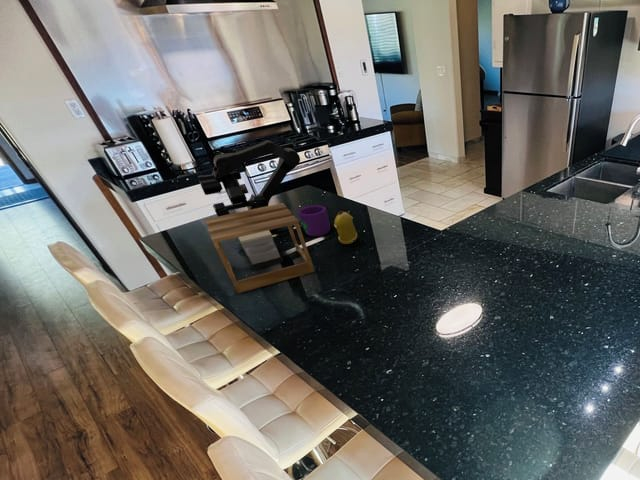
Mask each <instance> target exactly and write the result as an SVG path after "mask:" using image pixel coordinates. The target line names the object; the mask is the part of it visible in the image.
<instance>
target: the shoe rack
mask: <svg viewBox="0 0 640 480" xmlns="http://www.w3.org/2000/svg"><path fill="white" fill-rule="evenodd" d="M204 222H205V224H206V226H207V230H208V233H209V236H210V239H211V241H212V244H213V246H214V247H215V250H216V252H217V254H218V256H219V258H220V260H221V262H222V264H223V266H224V268H225V269H226V273H227V274H228V277H229V278H230V280H231V282H232V284H233V287H234V289H235V290H236V293H237V294H241V293H245V292H248V291H252V290H255V289H259V288H263V287H265V286H270V285H273V284H277V283H279V282H283V281H287V280H290V279H293V278H297V277H300V276H304V275H308V274H310V273H315V271H316V270H315V268H314V265H313V262H312V259H311V256H310V253H309V250H308V247H307V244H306V241H305V238H304V235H303V232H302V229H301V226H300V224H299V221H298V219H297V218H296V217H295V215H293V213H292V212H291V210H290V209H288V207H287V205H286V204H285V203H284V202H281V203H275V204H272V205H271V204H270V205H268V206H266V207H261V208H257V209H252V210H248V209H247V210H244V211H243V210H242V211H238V212H234V213H230V214H228V215H223V216H219V217H218V216H215V217H210V218H205V219H204ZM293 226H294V228H295V229H296V233H297V235H298V238H299V241H300V244H301V246H300V245H299V244H298V241H297V238H296V235H295V233H294V229H293ZM284 227H287V229H288V231H289V234H290V237H291V240H292V243H293V246H294V249H295V251H296V252H298V253H299V255H300V256H301V257H302V259H303V262H300V263H296V264H293V265H290V266H285V267H281V268H278V269H274V270H271V271H268V272H263V273H260V274H256V275H253V276H248V277H246V278H242V279H238V280H237V278H236V275H235V273H234V269H233V267H232V265H231V263H230V260H229V258H228V256H227V254H226V252H225V249H224V248H223V245H222V244H221V242H225V241H228V240H233V239H236V238H238V237H242V236H246V235H250V234H255V233H259V232H263V231H267V230H272V229H276V228H278V229H280V228H284ZM238 239H239V238H238ZM301 247H302V248H301ZM311 269H313V270H311Z"/></svg>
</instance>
